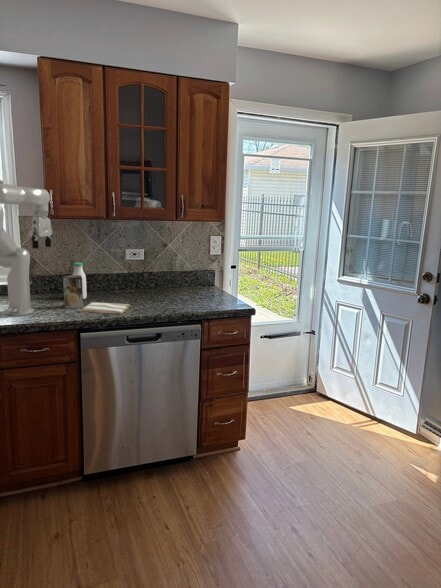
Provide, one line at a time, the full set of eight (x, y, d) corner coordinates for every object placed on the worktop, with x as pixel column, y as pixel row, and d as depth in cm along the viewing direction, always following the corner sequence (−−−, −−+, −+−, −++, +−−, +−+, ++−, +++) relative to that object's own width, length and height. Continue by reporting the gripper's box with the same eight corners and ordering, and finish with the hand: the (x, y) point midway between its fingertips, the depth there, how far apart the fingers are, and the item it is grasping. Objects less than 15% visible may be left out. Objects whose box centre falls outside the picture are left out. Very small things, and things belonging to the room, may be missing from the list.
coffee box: (82, 304, 224) (81, 275, 221) (83, 307, 219) (82, 277, 215) (64, 305, 221) (62, 275, 217) (64, 308, 215) (63, 277, 211)
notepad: (120, 314, 210) (120, 312, 210) (79, 311, 211) (79, 309, 211) (130, 305, 227) (130, 303, 226) (91, 303, 228) (91, 301, 227)
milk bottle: (88, 296, 241) (87, 262, 237) (84, 300, 234) (83, 264, 229) (74, 296, 241) (73, 261, 236) (70, 299, 233) (69, 263, 229)
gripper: (35, 215, 208) (36, 249, 212) (57, 214, 224) (58, 246, 228) (22, 214, 210) (24, 248, 214) (45, 213, 226) (47, 245, 230)
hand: (42, 247), depth 221 cm, fingers open, 9 cm apart
